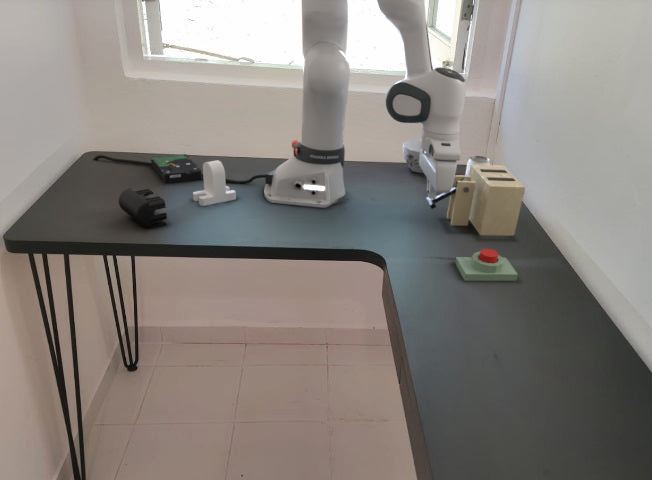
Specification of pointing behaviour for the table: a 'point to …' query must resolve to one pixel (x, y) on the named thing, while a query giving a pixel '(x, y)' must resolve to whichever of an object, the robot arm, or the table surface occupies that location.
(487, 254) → the button
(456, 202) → the lever bracket
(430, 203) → the lever
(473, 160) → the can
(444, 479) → the table surface
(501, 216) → the toaster
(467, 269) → the green button base
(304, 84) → the robot arm
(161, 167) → the disk drive
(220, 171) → the white mounting bracket
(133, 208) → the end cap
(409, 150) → the teacup
